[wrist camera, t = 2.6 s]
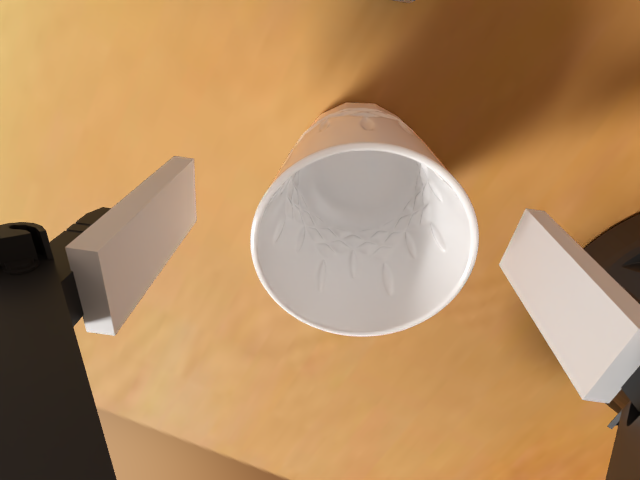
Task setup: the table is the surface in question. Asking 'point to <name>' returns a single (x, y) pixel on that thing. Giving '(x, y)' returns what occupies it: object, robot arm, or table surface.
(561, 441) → the table surface
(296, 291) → the white cup
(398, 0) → the tray
